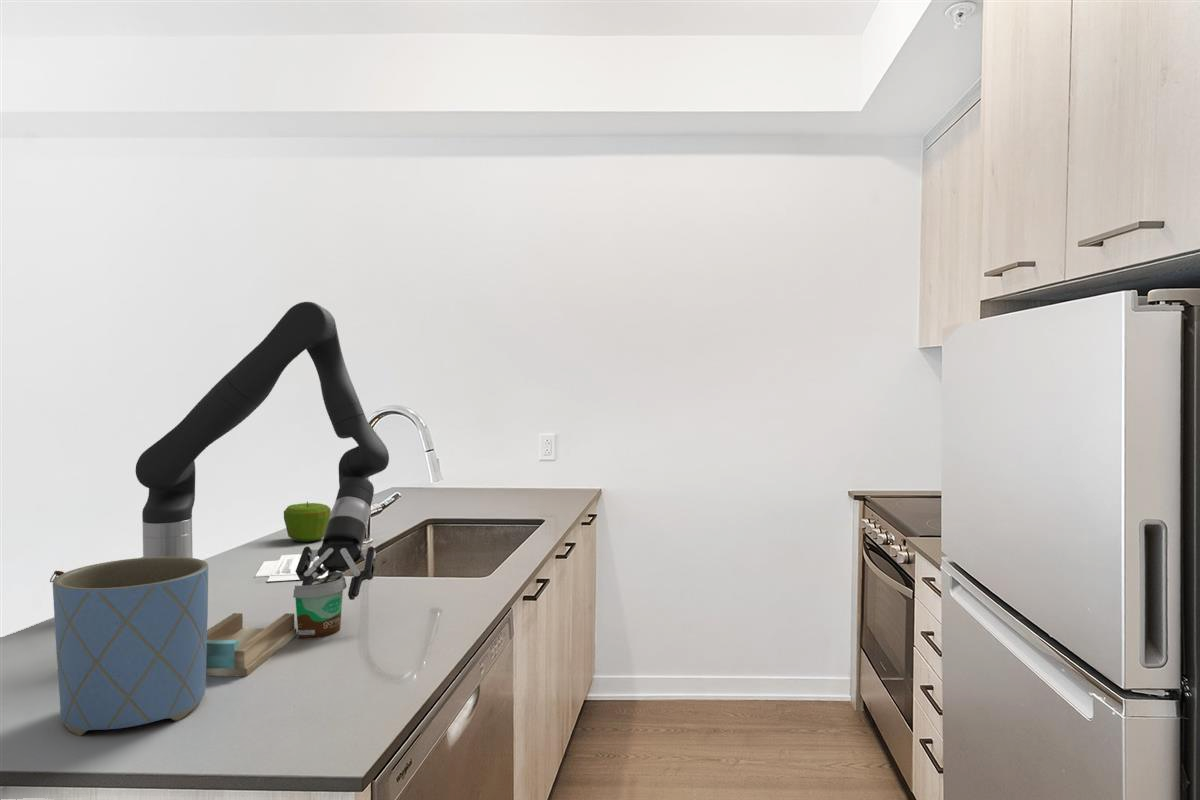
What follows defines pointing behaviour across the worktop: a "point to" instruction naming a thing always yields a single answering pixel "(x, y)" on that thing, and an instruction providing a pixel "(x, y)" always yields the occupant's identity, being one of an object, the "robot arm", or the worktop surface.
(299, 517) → the apple
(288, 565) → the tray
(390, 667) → the worktop surface
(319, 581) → the food container
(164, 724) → the worktop surface
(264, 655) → the channel board
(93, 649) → the planter
